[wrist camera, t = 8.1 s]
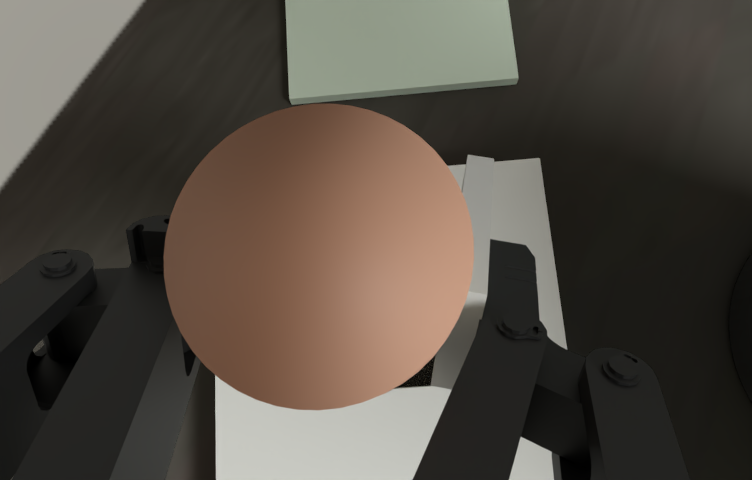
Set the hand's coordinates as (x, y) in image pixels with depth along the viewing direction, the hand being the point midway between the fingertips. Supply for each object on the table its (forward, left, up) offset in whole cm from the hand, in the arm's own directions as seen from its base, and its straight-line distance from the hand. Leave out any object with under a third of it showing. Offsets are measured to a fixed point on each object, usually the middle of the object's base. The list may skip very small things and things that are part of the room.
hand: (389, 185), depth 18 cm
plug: (+1, +4, -6) cm, 7 cm away
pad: (-1, -18, -17) cm, 25 cm away
